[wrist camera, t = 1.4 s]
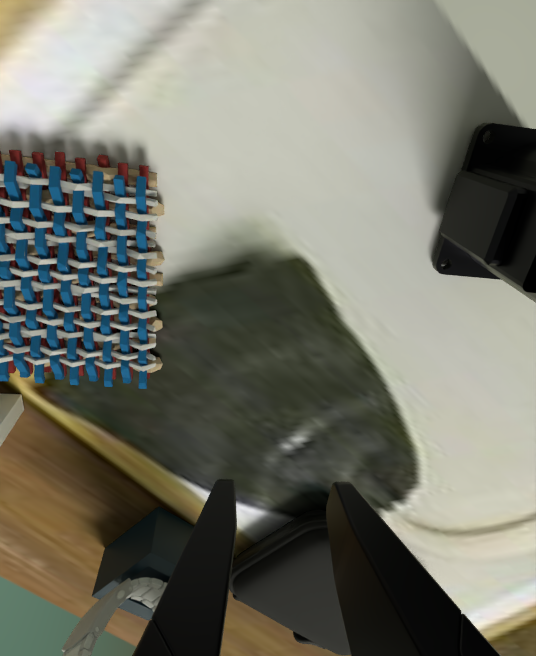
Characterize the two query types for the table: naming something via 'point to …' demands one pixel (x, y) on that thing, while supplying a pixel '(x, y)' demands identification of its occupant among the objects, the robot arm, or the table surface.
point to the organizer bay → (9, 413)
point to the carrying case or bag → (294, 582)
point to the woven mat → (77, 268)
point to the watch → (132, 575)
